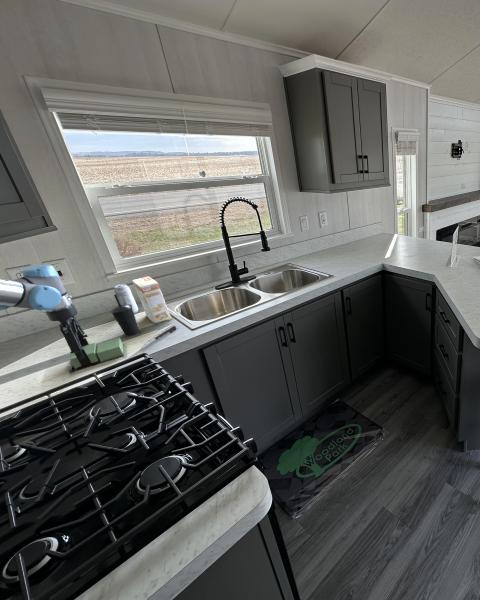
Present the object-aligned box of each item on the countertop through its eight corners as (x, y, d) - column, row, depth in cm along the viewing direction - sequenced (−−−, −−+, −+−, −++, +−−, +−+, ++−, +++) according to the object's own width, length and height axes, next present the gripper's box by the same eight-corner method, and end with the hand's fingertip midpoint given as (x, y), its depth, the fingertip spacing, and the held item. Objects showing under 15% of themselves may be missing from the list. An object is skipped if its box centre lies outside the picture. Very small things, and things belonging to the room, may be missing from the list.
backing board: (71, 375, 121) (68, 370, 120) (75, 361, 130) (72, 356, 129) (125, 358, 130) (122, 353, 129) (125, 346, 138) (122, 341, 137)
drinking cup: (121, 335, 147) (102, 295, 138) (142, 329, 151) (125, 289, 143) (123, 341, 142) (104, 300, 133) (144, 335, 146) (127, 294, 138)
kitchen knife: (175, 329, 150) (173, 325, 149) (176, 329, 150) (175, 325, 149) (140, 351, 134) (138, 347, 133) (142, 352, 134) (140, 347, 133)
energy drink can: (141, 309, 170) (130, 283, 164) (134, 315, 165) (122, 287, 158) (130, 310, 170) (118, 283, 164) (121, 315, 165) (109, 288, 158)
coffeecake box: (172, 319, 159) (158, 282, 151) (155, 325, 154) (140, 287, 146) (162, 310, 168) (148, 275, 160) (146, 316, 163) (131, 280, 155)
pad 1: (74, 368, 122) (69, 359, 120) (77, 357, 129) (72, 349, 127) (98, 361, 126) (94, 352, 124) (99, 350, 132) (95, 342, 131)
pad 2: (100, 361, 126) (96, 353, 125) (102, 351, 133) (97, 343, 131) (123, 354, 130) (119, 346, 128) (123, 345, 137) (119, 337, 135)
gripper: (69, 314, 112) (98, 368, 121) (76, 295, 127) (101, 343, 137) (39, 321, 107) (71, 376, 117) (49, 300, 123) (77, 350, 133)
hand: (87, 358), depth 127 cm, fingers closed on pad 1, 9 cm apart
